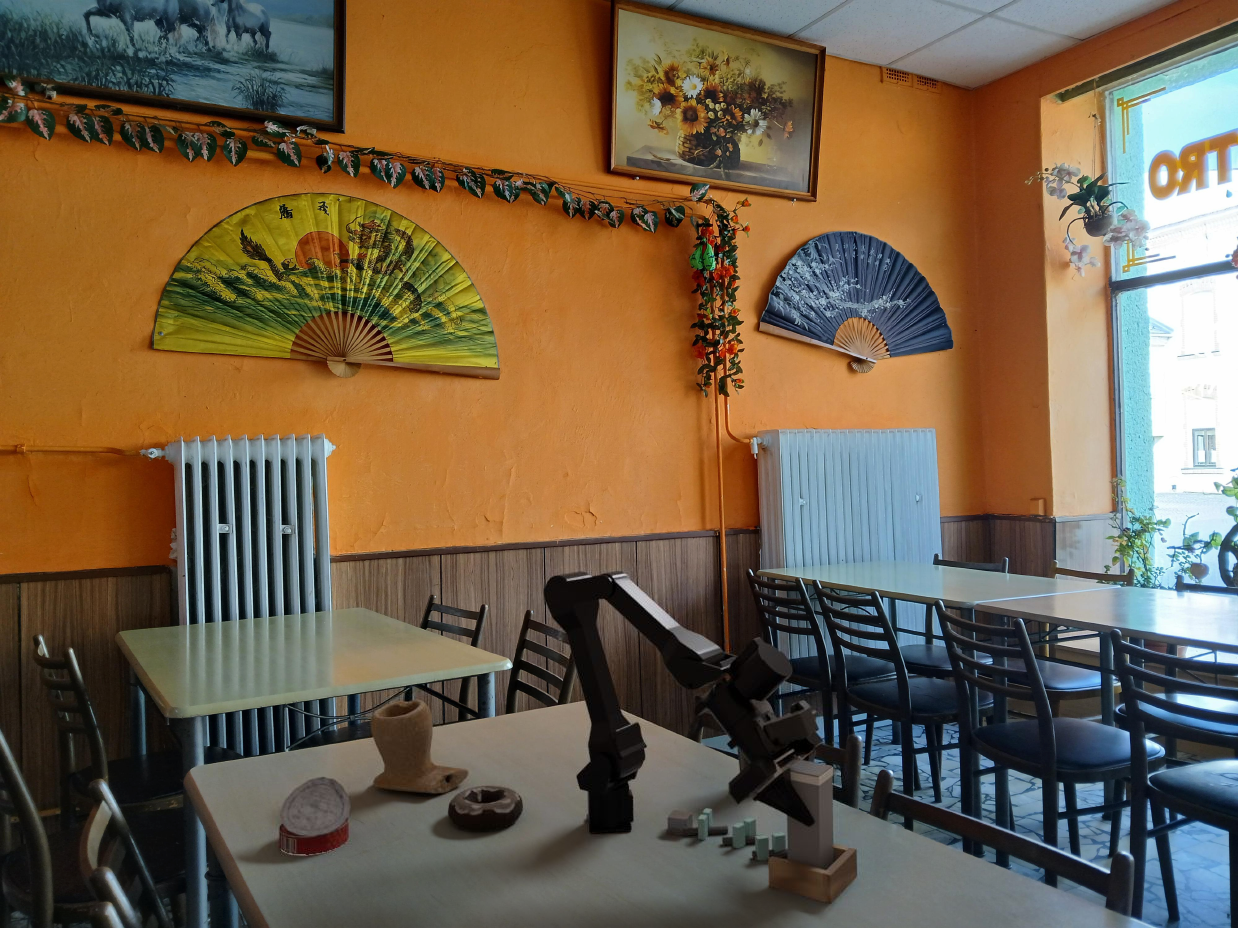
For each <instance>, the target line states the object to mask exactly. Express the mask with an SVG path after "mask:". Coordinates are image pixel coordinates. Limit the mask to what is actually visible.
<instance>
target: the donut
mask: <svg viewBox="0 0 1238 928" xmlns="http://www.w3.org/2000/svg"><path fill="white" fill-rule="evenodd" d="M523 809H524V804H523V798H522V796H521V795H520V794H519V793H518V792H517V791H516V790H514V789H511V788H510V787H506V786H503V785H495V784H494V785H480V786H479V785H478V786H474V787H473V786H472V787H470V788H467V789H464V790H462V791H460V792H459V793H457V794H455V796H453V798H452V799H451V800H450V801H449V803H448V808H447V815H448V818H449V820H450V821H451V823H452V824H453V825H454V826H455V827H457V828H459V829H462V830H465V831H468V830H469V831H468V832H476V831H478V832H490V830H492V831H496V829H497V830H500V828H501V829H504V828H506V827H509V826H511V825H513V824H514V823H515V822H517V820H518V819H519V818H520V817H521V815H522V814H523V811H524V810H523Z"/></svg>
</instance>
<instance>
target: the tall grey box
mask: <svg viewBox="0 0 1238 928" xmlns="http://www.w3.org/2000/svg"><path fill="white" fill-rule="evenodd" d="M789 768H790V773H791V784H792V786H793V788H794V789H795V791H796V792H797V794H798V795H799V797H800V798H801V800H802V801H803V803H804V804H805V806H806V807H807V809H808V810H809V812H810V813H811V815H812V817H813V819H814V821H815V823H814V824H813V825H811V826H810V827H808V826H806V825H804V824H802V823H801V822H799V821H797V820H795V819H793V818H791V817H790V816H788V815H786V827H787V828H786V830H787V831H786V833H787V834H786V835H787V836H786V837H787V838H786V839H787V840H786V841H787V849H788V856H787V860H788V861H792V862H796V863H800V864H804V865H807V866H811V867H815V868H819V869H823V870H827V869H828V868H829V867H830V866H831V865H832V864H833V863H834V850H833V844H834V799H833V797H834V795H833V794H834V791H833V790H834V789H833V776H834V767H833V766H832V765H829V764H823V763H819V762H815V761H814V762H809V761H804V760H800V761H798V762H797V763H795V764H794V765H792V766H791V767H789Z"/></svg>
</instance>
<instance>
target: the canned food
mask: <svg viewBox="0 0 1238 928" xmlns="http://www.w3.org/2000/svg"><path fill="white" fill-rule="evenodd" d="M284 799H285V800H284V802H283V805H282V807H281V808H280V821H281V823H280V825H279V827H278V832H279V834H278V837H279V838H278V839H279V840H278V842H279V845H280V846H279V849H280V848H281V849H282V850H283V851H285V852H287V853H292V854H306V855H309V854H316V853H322V852H327V851H329V850H333V849H335V848H338V847H340V846H341V845H343V844H344V845H346V843H345V842H347V843H348V841H349V840H348V838H350V835H349V833H350V831H349V829H350V828H349V826H350V824H349V814H350V811H351V809H352V808H351V802H350V797H349V795H348V793H347V792H346V790H345V788H344V786H343V785H342V784H341V783H340V782H338V781H337V780H336V779H334V778H328V777H325V776H319V777H315V778H311V779H308V780H306V781H305V782H303V783H302V784H301V785H299V786H297V787H296V788H294V789H293V791H292V792H291V793H290V794H289V795H288V796H287V797H286V798H284ZM347 840H348V841H347ZM344 845H343V846H344ZM341 847H342V846H341ZM341 847H340V848H341ZM338 849H339V848H338ZM333 851H334V850H333Z"/></svg>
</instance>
